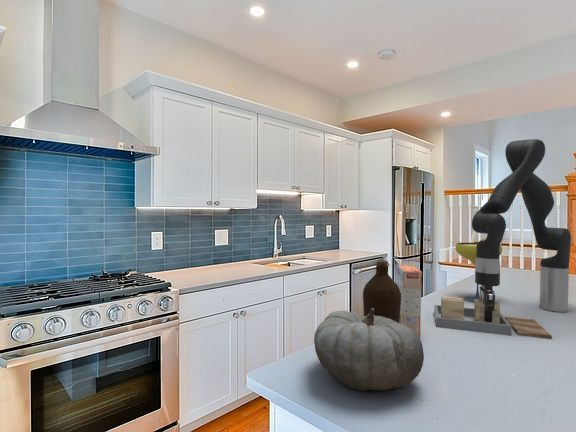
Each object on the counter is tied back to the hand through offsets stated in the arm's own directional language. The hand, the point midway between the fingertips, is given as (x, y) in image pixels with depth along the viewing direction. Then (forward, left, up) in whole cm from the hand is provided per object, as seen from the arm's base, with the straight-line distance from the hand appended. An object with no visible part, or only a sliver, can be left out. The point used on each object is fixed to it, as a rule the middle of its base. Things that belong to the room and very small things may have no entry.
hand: (486, 319), depth 121 cm
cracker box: (+17, -25, -2) cm, 31 cm away
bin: (0, -5, -2) cm, 6 cm away
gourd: (+55, -34, -2) cm, 65 cm away
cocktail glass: (-37, +3, -2) cm, 37 cm away
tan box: (0, 0, -2) cm, 2 cm away
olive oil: (+35, -32, -2) cm, 48 cm away
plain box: (0, -11, -2) cm, 11 cm away
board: (-1, +12, -2) cm, 12 cm away
